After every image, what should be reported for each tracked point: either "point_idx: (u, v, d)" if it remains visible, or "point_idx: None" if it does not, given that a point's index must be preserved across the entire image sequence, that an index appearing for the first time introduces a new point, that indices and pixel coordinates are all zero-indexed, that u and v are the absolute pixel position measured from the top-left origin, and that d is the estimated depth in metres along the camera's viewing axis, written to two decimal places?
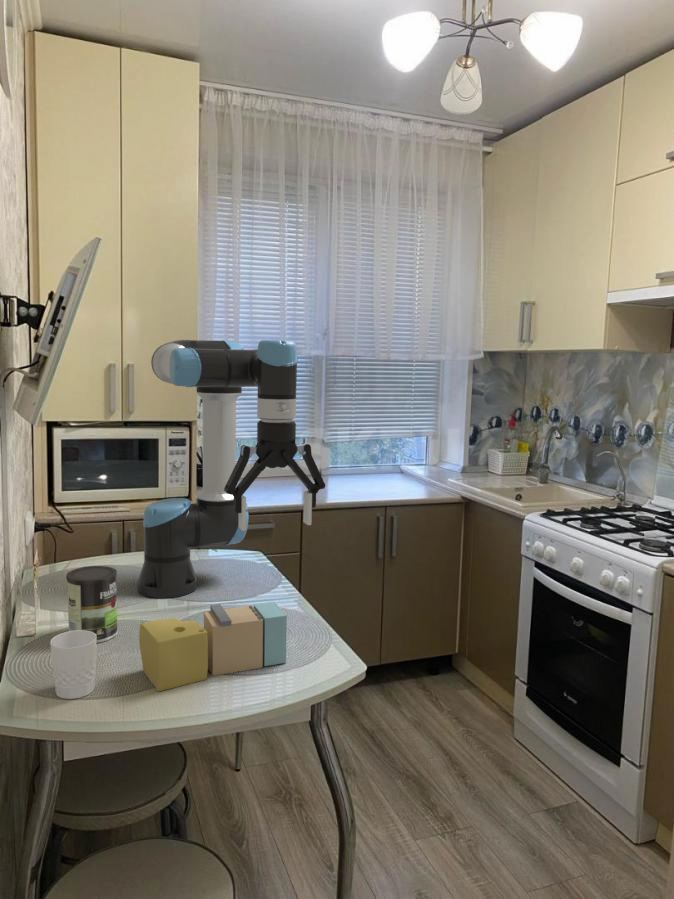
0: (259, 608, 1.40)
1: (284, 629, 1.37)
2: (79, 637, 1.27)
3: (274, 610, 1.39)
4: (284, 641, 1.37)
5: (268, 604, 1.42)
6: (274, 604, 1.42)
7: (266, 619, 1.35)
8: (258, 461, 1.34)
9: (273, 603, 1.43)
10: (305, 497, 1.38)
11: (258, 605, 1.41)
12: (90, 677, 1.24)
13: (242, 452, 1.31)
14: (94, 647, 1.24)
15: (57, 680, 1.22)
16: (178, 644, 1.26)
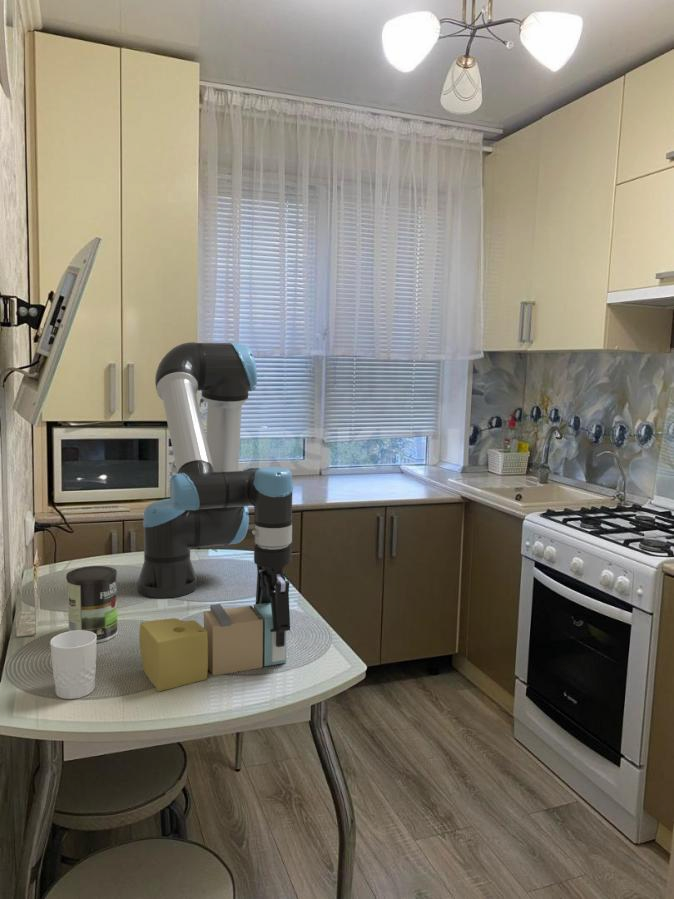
0: (259, 608, 1.40)
1: None
2: (79, 637, 1.27)
3: None
4: None
5: (268, 604, 1.42)
6: None
7: (266, 619, 1.35)
8: None
9: None
10: None
11: (258, 605, 1.41)
12: (90, 677, 1.24)
13: None
14: (94, 647, 1.24)
15: (57, 680, 1.22)
16: (178, 644, 1.26)
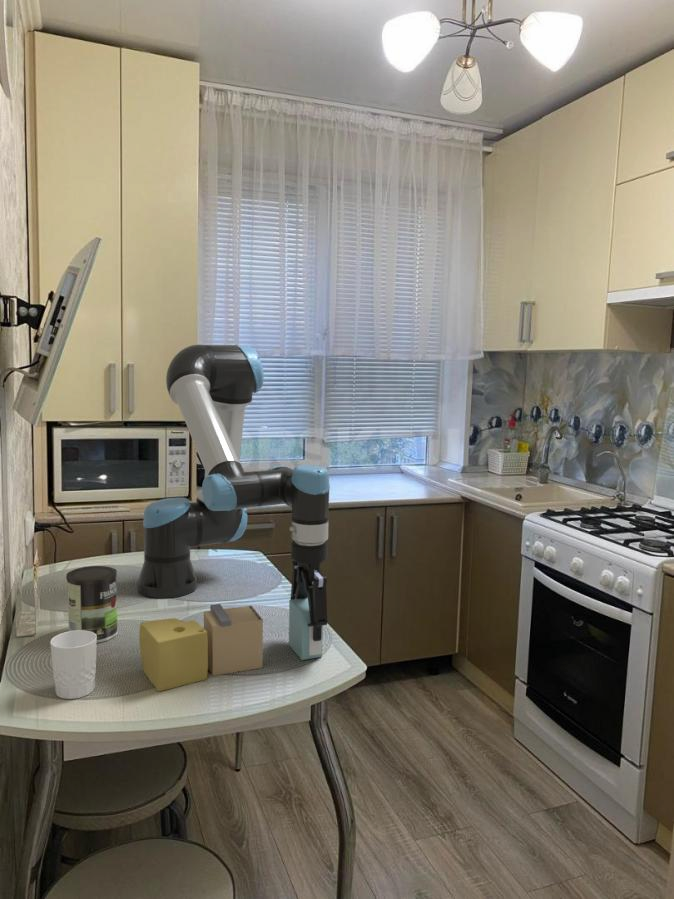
0: (295, 603, 1.43)
1: None
2: (79, 637, 1.27)
3: None
4: None
5: (304, 600, 1.45)
6: None
7: (303, 614, 1.38)
8: None
9: None
10: None
11: (294, 600, 1.44)
12: (90, 677, 1.24)
13: None
14: (94, 647, 1.24)
15: (57, 680, 1.22)
16: (178, 644, 1.26)
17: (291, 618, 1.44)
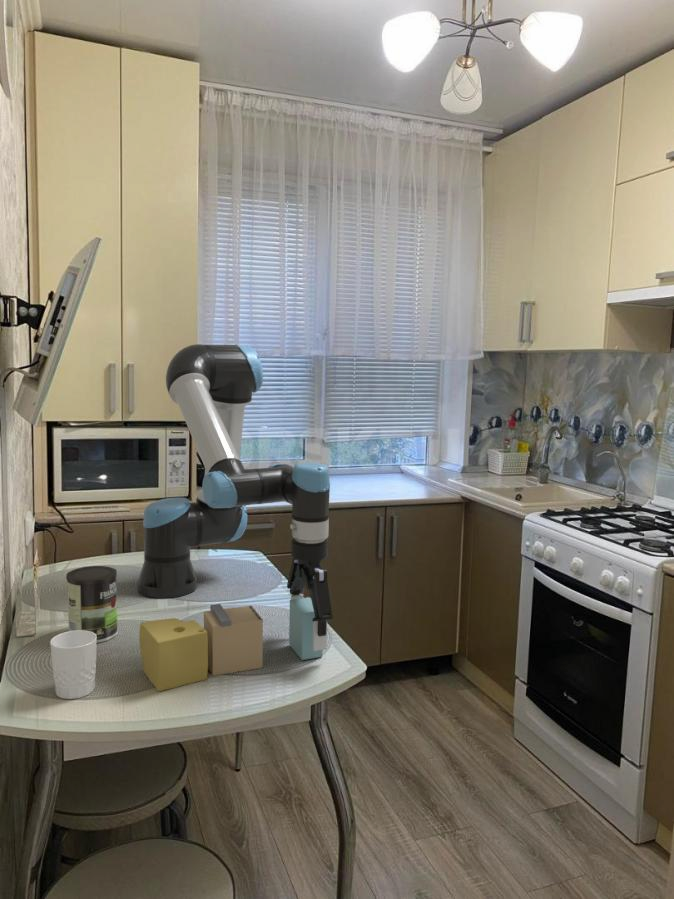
0: (296, 603, 1.43)
1: None
2: (79, 637, 1.27)
3: (310, 605, 1.42)
4: None
5: (304, 600, 1.45)
6: (310, 599, 1.45)
7: (304, 614, 1.38)
8: None
9: (308, 598, 1.46)
10: None
11: (294, 600, 1.44)
12: (90, 677, 1.24)
13: None
14: (94, 647, 1.24)
15: (57, 680, 1.22)
16: (178, 644, 1.26)
17: (291, 618, 1.44)
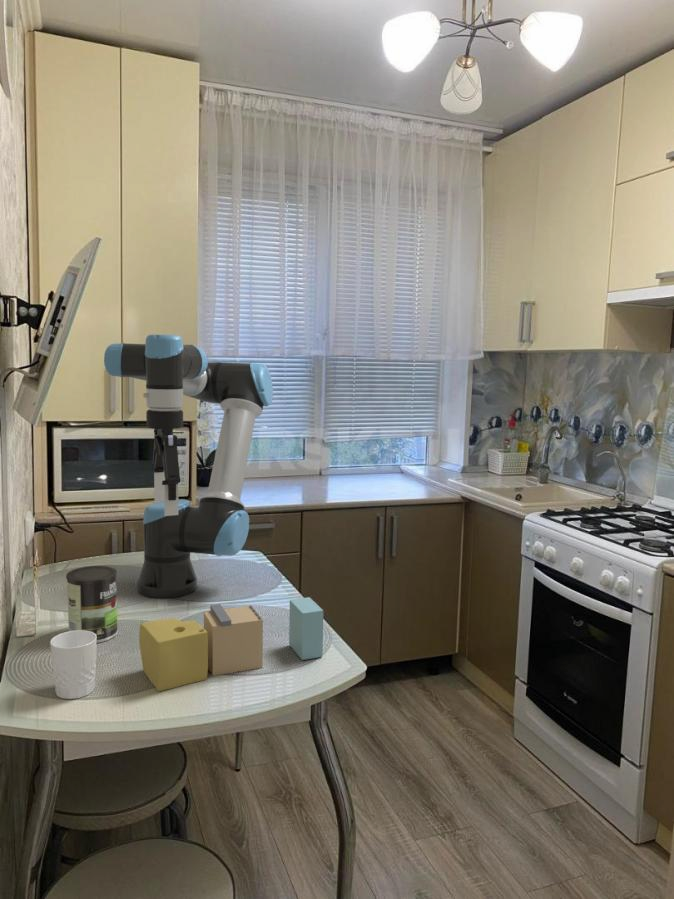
0: (296, 603, 1.43)
1: (321, 624, 1.40)
2: (79, 637, 1.27)
3: (310, 605, 1.42)
4: (321, 635, 1.40)
5: (304, 600, 1.45)
6: (310, 599, 1.45)
7: (304, 614, 1.38)
8: None
9: (308, 598, 1.46)
10: None
11: (294, 600, 1.44)
12: (90, 677, 1.24)
13: None
14: (94, 647, 1.24)
15: (57, 680, 1.22)
16: (178, 644, 1.26)
17: (291, 618, 1.44)
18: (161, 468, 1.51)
